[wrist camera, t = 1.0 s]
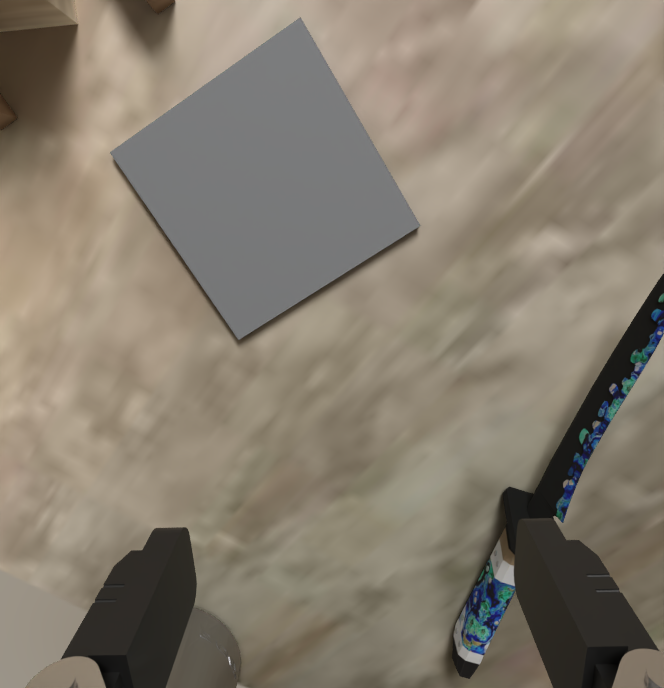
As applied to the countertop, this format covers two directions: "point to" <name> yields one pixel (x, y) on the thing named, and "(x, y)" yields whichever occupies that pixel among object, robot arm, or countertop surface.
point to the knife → (556, 481)
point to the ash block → (36, 14)
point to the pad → (267, 181)
